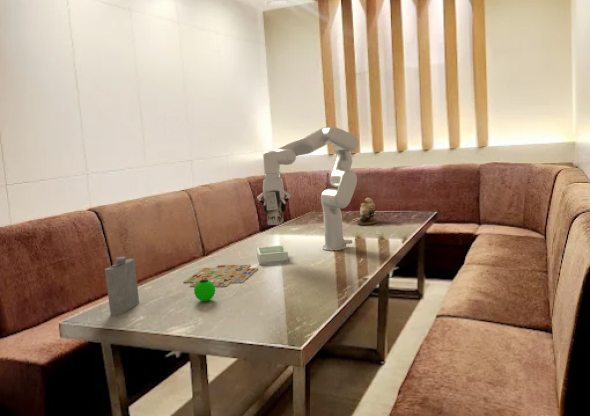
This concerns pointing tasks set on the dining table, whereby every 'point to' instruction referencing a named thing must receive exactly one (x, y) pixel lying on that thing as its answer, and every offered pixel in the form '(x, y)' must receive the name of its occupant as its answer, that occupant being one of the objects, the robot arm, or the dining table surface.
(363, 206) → the owl figurine
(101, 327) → the dining table surface
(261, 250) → the bin
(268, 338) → the dining table surface
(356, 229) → the dining table surface
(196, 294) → the ornament
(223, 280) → the alphabet tiles
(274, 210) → the coffee box
